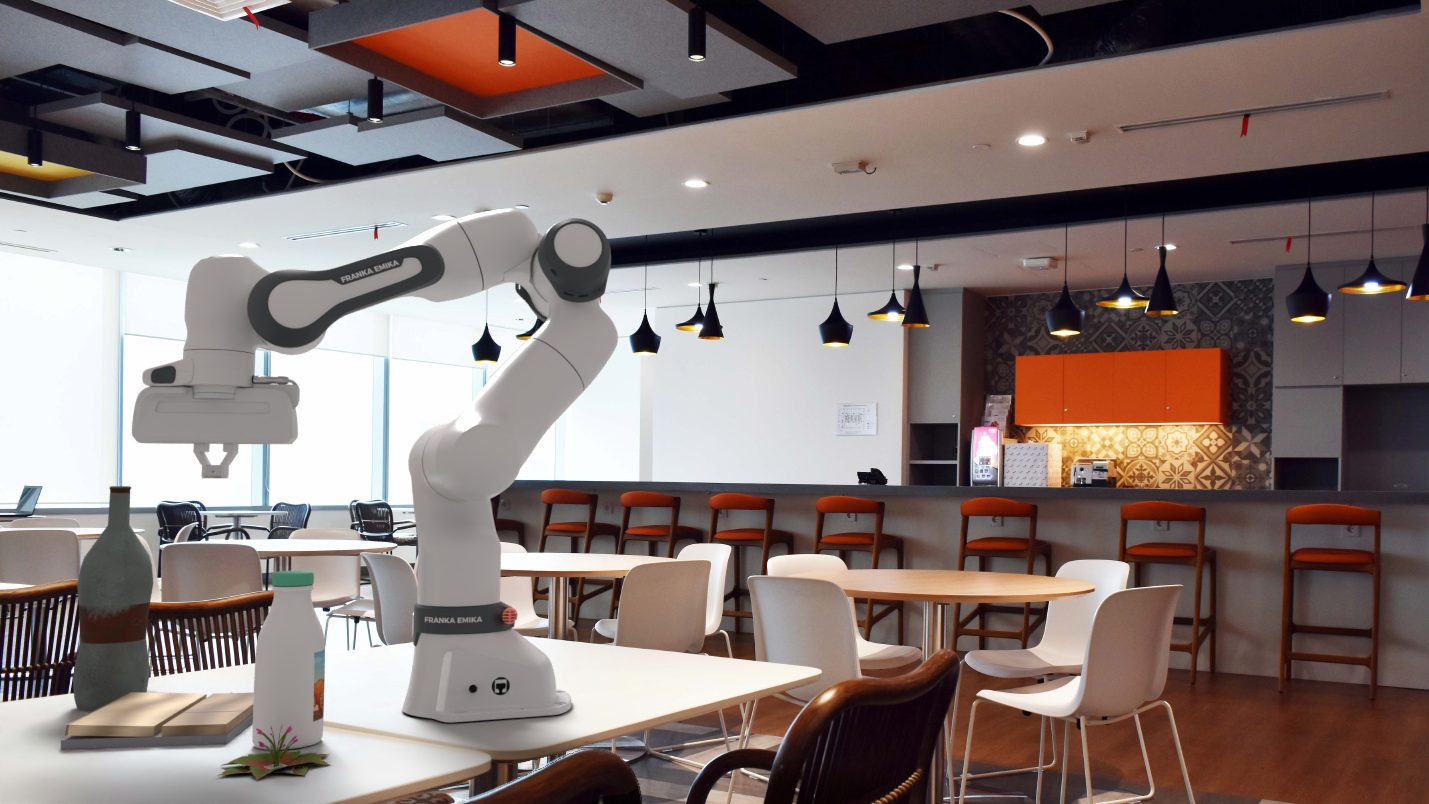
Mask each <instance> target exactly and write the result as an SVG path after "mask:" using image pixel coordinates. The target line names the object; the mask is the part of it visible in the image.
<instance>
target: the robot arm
mask: <svg viewBox="0 0 1429 804" xmlns="http://www.w3.org/2000/svg"><path fill="white" fill-rule="evenodd" d="M611 253H612V252H611V246H610V242H609V240H608V237H607V236H606V234H605V233H604V231H603V230H602V229H601V228H600V227H599V226H598V225H596V224H595V223H593V222H592V221H590V220H586V219H583V218H578V217H573V218H571V217H570V218H566V219H562V220H560V221H558V222H556V223H555V224H552V226H550V227H549V228H548V229H547V230H546V232H545V233H544V234H543V235H542V234H541V233H540V232H539V231H538V230H537V228H536V225H535V224H534V223H533V221H532V219H531V218H530V217H529V216H528V215H527V214H526V213H525V212H523V211H521V210H520V209H517V208H513V207H512V208H511V207H510V208H509V207H507V208H501V209H499V208H498V209H494V210H489V211H483V212H477V213H473V214H469V215H466V216H463V217H458V218H457V219H453V220H451V221H450V220H449V221H447V222H445V223H441V224H440V225H439V224H438V226H435V227H432V228H431V229H428V230H426V231H423V232H422V233H420V234H419V235H416V236H414V237H413V238H411V239H409V240H408V241H406V242H405V241H404V243H401V244H400V245H397V246H396V247H394V248H392V249H389V250H387V251H384V252H382V253H379V254H375V255H371V256H369V257H366V258H361V259H359V260H355V261H353V262H350V263H346V264H343V265H339V266H337V267H333V268H329V269H323V270H309V269H308V270H306V269H296V268H294V269H293V268H290V269H287V268H286V269H280V270H276V271H273V272H270V271H269V270H267V269H265V267H264V268H263V267H262V266H260V265H259V264H258V263H256V262H255V261H254V260H253V259H252V258H251V257H249V256H246V255H242V254H241V255H240V254H220V255H219V254H218V255H212V256H209V257H206V258H202V259H200V260H199V261H198V262H196V264H195V265H193V267H192V269H191V270H190V272H189V275H188V280H187V286H186V294H185V303H184V322H185V327H186V333H187V334H186V340H185V343H184V344H183V348H182V349H183V351H182V359H179V360H175V361H172V362H168V363H165V364H162V365H157V366H153V367H150V368H146V369H145V370H144V371H142V376H141V378H142V383H143V384H144V385H146V386H147V387H145V388H143V389H142V390H141V391H139V393H138V395H137V397H136V399H135V403H134V408H133V414H132V420H131V421H132V422H131V435H132V438H133V439H134V440H135V441H136V442H137V443H139V444H156V445H157V444H159V445H160V444H169V445H170V444H172V445H173V444H175V445H179V444H180V445H182V444H184V445H185V444H186V445H189V444H190V445H193V454H194V455H195V457H196V459H197V461H198V462H199V464H200V465H201V479H228V478H229V476H230V475H229V474H230V473H229V472H230V471H229V470H230V468H229V467H230V465H231V464H232V463H233V462H234V460H235V458H236V457H237V455H238V454H239V445H293V444H294V443H295V442H296V441H297V439H298V435H299V432H298V429H299V427H298V424H299V423H298V414H297V407H298V405H299V403H300V399H301V398H300V395H301V394H300V392H301V390H300V386H299V385H298V383H297V382H296V381H295V380H293V379H290V378H289V377H288V376H286V375H285V376H283V375H278V376H270V375H256V374H255V373H256V371H255V370H256V351H257V349H263V350H266V351H267V350H268V351H272V352H276V353H278V354H282V355H286V356H298V355H303V354H305V353H308V352H310V351H312V350H313V349H315V348H316V347H317V346H319V344H321V342H322V341H323V339H324V338H325V337H326V336H325V335H326V333H327V331H328V329H329V328H330V327H331V326H332V325H333V324H335V323H336V322H337V321H338V320H340V319H342V318H343V317H346V316H348V315H351V314H354V313H357V312H360V311H362V310H365V309H369V308H372V307H374V306H378V305H380V304H383V303H387V302H389V301H391V300H392V301H393V300H396V299H401V298H406V297H407V298H408V297H413V298H420V299H421V298H422V299H424V300H427V301H429V302H433V303H441V302H448V301H453V300H454V301H455V300H458V299H462V298H465V297H469V296H472V295H475V294H478V293H481V292H484V291H487V290H489V289H491V288H494V287H497V286H499V285H502V284H507V283H514V289H515V291H516V293H517V295H519V297H520V298H521V299H522V300H523V301H524V302H525V303H526V304H527V305H528V306H529V308H530V310H531V311H532V312H533V313H534V314H535V316H536V317H537V318H538V319H539V320H541V322H543V323H542V325H541V326H540V327H539V328H538V329H537V330H536V331H535V332H534V333H533V334H532V335H531V336H530V337H529V338H528V339H527V340H526V341H525V342H524V343H523V344H522V345H520V346H519V348H518V349H517V350H516V351H515V352H514V353H512V354H511V356H510V357H508V359H507V360H505V362H504V363H502V364H501V366H500V367H498V369H497V370H496V371H494V372H493V373H492V374H491V375H490V376H489V378H488V380H487V382H486V383H485V385H484V387H483V388H481V390H480V391H479V393H478V394H477V396H476V397H475V398H474V399H473V400H472V401H471V403H470V404H469V405H468V406H467V408H466V409H465V410H464V411H463V412H462V413H461V414H459V416H458V417H457V418H456V419H454V420H452V421H450V422H448V423H444V424H443V423H441V424H438V425H435V426H432V427H430V428H429V429H427V430H426V431H424V432H423V433H422V434H421V435H419V437H418V438H417V440H416V441H415V442H414V444H413V445H412V448H411V449H410V452H409V454H408V455H409V456H408V462H407V463H408V466H407V467H408V472H409V475H410V478H411V481H410V482H411V491H412V494H411V495H412V504H413V510H414V511H413V512H414V520H415V527H416V533H417V534H416V535H417V551H418V552H417V559H418V560H417V598H416V599H417V600H416V601H417V602H416V604H414V605H413V612H412V621H411V623H412V628H411V630H412V632H411V639H412V644H413V646H414V648H413V649H414V652H413V657H412V659H413V660H412V665H411V672H410V676H409V677H410V678H409V684H408V687H407V692H406V695H405V698H404V702H403V705H402V708H401V710H402V712H403V713H405V714H407V715H410V716H414V717H419V718H425V719H433V720H436V721H439V722H443V723H460V722H461V723H462V722H463V723H464V722H475V721H489V720H503V719H516V718H517V719H518V718H530V717H531V718H532V717H545V716H555V715H556V716H557V715H560V714H563V713H566V712H568V711H569V710H570V709H571V708H572V696H571V695H570V693H569V692H567V691H565V690H562V689H558V688H557V683H556V675H555V671H554V666H553V664H552V661H551V660H550V658H549V656H548V655H547V654H546V653H544V651H542V650H541V649H540V648H539V647H537V646H536V645H535V644H533V643H532V642H531V641H529V640H528V639H527V638H526V637H525V636H523V635H522V634H520V633H519V632H518V631H517V630H515V629H514V628H515V624H516V623H515V622H516V621H517V620H518V619H517V618H518V611H517V610H516V609H515V608H514V607H513V606H511V605H509V604H507V603H505V602H504V601H502V600H501V573H502V572H501V569H502V565H501V564H502V561H501V559H502V557H501V556H502V544H501V540H500V538H499V536H498V533H497V530H496V525H495V520H494V514H493V508H492V502H491V499H492V498H495V497H496V496H498V495H500V494H502V493H503V492H505V490H507V489H508V488H510V486H511V485H512V484H513V483H514V482H515V481H516V478H517V477H518V475H519V473H520V470H521V469H522V467H523V465H524V464H525V463H526V462H527V460H528V458H529V457H530V456H531V454H532V453H533V451H534V450H535V448H536V447H537V445H538V444H539V443H540V441H541V439H542V438H543V437H544V435H545V434H546V433H547V431H548V430H549V429H550V428H551V427H552V426H553V425H554V423H556V421H557V420H558V419H559V418H560V417H561V416H562V415H563V414H564V413H565V412H566V410H568V409H569V408H570V407H571V405H572V404H573V403H574V402H575V401H576V400H577V399H578V398H579V397H580V396H581V395H582V394H583V393H584V392H585V390H587V388H588V387H590V385H591V384H592V383H593V381H594V380H596V378H597V377H598V375H599V374H600V372H601V371H602V370H603V369H604V367H605V365H606V364H607V363H608V362H609V360H610V358H611V357H612V355H613V353H614V352H615V350H616V348H617V346H618V341H619V335H618V334H619V333H618V330H617V327H616V325H615V323H614V322H613V320H612V318H611V317H610V316H609V315H608V314H607V313H606V312H605V311H604V310H603V309H602V307H601V306H600V302H599V301H600V298H601V297H602V296H603V295H604V294H605V293H606V289H607V283H608V279H609V274H610V272H611V271H610V269H611V265H612V254H611ZM289 383H290V384H289ZM218 444H219V445H222V452H223V453H226V454H225V456H224V458H222V460H221V461H220V464H211V462H210V460H209V458H208V456H207V454H206V453H209V452H210V445H218Z"/></svg>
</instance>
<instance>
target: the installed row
mask: <svg viewBox="0 0 1429 804" xmlns="http://www.w3.org/2000/svg"><path fill="white" fill-rule="evenodd" d="M253 702H254V691H253V692H224V693H223V692H221V693H219V692H218V693H212V694H210V695H209V696H206V699H204V700H202V701H201V702H199V703H198V704H196V705H194V706H193V707H191V708H190V709H188V710H186V711H185V712H183V713H182V714H180V715H179V716H177V717H175V718H174V719H172V720H171V721H169V722H167V723H166V724H164V725H163V726H162V735H161V737H162V736H192V735H223V734H227V733H228V732H230V731H231V730H232V729H234V728H235V727H236V726H237V725H239V724H240V723H241V722H243V721H244V720H245V719H246V718H248V717H249V716H250V715H251V714H253Z"/></svg>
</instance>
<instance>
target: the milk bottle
mask: <svg viewBox="0 0 1429 804" xmlns="http://www.w3.org/2000/svg"><path fill="white" fill-rule="evenodd" d="M314 575H315V574H314V572H313V571H311V570H280V571H275V572H273V573H272V576H271V577H272V578H271V584H272V588H271V591H272V592H273V599H272V601H271V602H272V604H271V605H270V608H269V611H268V614H267V616H266V617H265V620H264V622H263V624H262V626H261V628H260V631H259V634H258V636H257V640H256V646H255V647H256V648H255V659H254V681H253V692H254V702H253V723H252V733H251V734H252V736H251V737H252V744H253V746H254V747H255V748H257V749H262V750H268V749H267V748H265V747H266V746H268V747H269V748H270V742H269V740H267V739H266V738H265V736H263V735H260V734H257V731H258V730H256V728H257V729H260V730H261V731H262V732H263V733H265V734H266V735H267V736H268V737H269V738H270V739H271V741H272V742H273V744H274V741H273V737H272V736H273V734H274V740H275V744H276V751H277V746H278V740H279V741H280V739H281V737H282V736H283V734H284V733H285V732H286V731H287V728H288V727H290V726H292V727H291V728H293V729H292V730H291V732H289V733H287V735H286V738H285V741H284V743H283V745H284V744H285V747H282V748H281V751H284V750H285V748H286V747H287V745H288V744H289V742H290V741H291V740H292V738H293V737H294V736H297V737H296V738H295V739H298V741H296V742H295V743H293V744H292V745H291V746H290V744H291V743H292V742H293V741H294V740H295V739H294V740H293V741H292V742H291V743H290V744H289V746H290V747H289V746H288V747H289V749H288V750H292V749H293V750H294V749H301V748H305V747H309V746H313V745H316V744H318V743H319V742H321V741H322V738H323V735H324V717H325V716H324V714H325V710H324V709H325V678H326V676H325V672H326V671H325V670H326V668H325V667H326V646H325V645H326V643H325V635H324V634H325V633H324V630H323V627H322V624H321V621H320V620H319V617H318V614H317V612H316V610H315V608H314V604H313V600H312V590H314V581H315V580H314V579H315V576H314ZM270 726H271V727H272V730H271V727H270ZM281 726H282V729H281ZM280 729H281V732H280ZM272 731H273V733H272ZM258 732H259V731H258ZM263 733H262V734H263ZM270 733H272V736H271V735H270ZM279 734H280V738H279ZM259 741H260V742H262V743H264V745H266V746H265V747H260V746H259V743H258V742H259ZM281 741H282V739H281ZM281 741H280V743H281ZM280 743H279V746H278V750H279V747H280ZM283 745H282V746H283ZM271 746H272V744H271ZM272 747H273V746H272ZM270 750H271V748H270ZM271 751H273V748H272V750H271Z"/></svg>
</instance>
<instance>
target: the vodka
mask: <svg viewBox="0 0 1429 804" xmlns="http://www.w3.org/2000/svg"><path fill="white" fill-rule="evenodd" d="M108 489H109V503H108V515H107V519H108V520H107V526H106V527H105V528H104V530H103V531H102V533H100V535H99V536H98V538H97V539H96V541H95V542H94V543H93V545H92V546H91V547H90V549H89V550H88V551H87V553H86V554H85V555H84V557H83V560H82V563H81V564H80V567H79V568H80V569H79V573H78V580H77V586H76V587H77V597H78V598H77V600H78V619H79V620H78V621H79V624H78V625H79V646H78V650H77V655H76V659H75V665H74V671H73V676H72V687H73V698H74V702H75V707H76V710H78V711H80V712H87V713H88V712H89V713H91V712H93V711H95V710H97V709H99V708H101V707H103V706H105V705H107V704H109V703H111V702H113V701H115V700H117V699H119V698H121V697H123V696H125V695H127V694H129V693H131V692H144V693H148V685H149V679H150V675H151V674H150V662H149V661H150V659H149V651H148V642H147V630H148V625H149V615H150V607H151V599H152V593H153V587H154V574H153V564H152V559H151V556H150V554H149V552H148V551H147V549H146V548H145V546H144V545H143V544H142V542H141V539H139V537H138V536H137V534H136V532H135V531H134V530H133V529H134V528H132V526H131V525H130V517H131V516H130V515H131V514H130V513H131V511H130V509H131V489H132V486H130V485H129V486H128V485H126V486H124V485H122V486H121V485H120V486H119V485H116V486H115V485H110V486H109V488H108Z"/></svg>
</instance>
